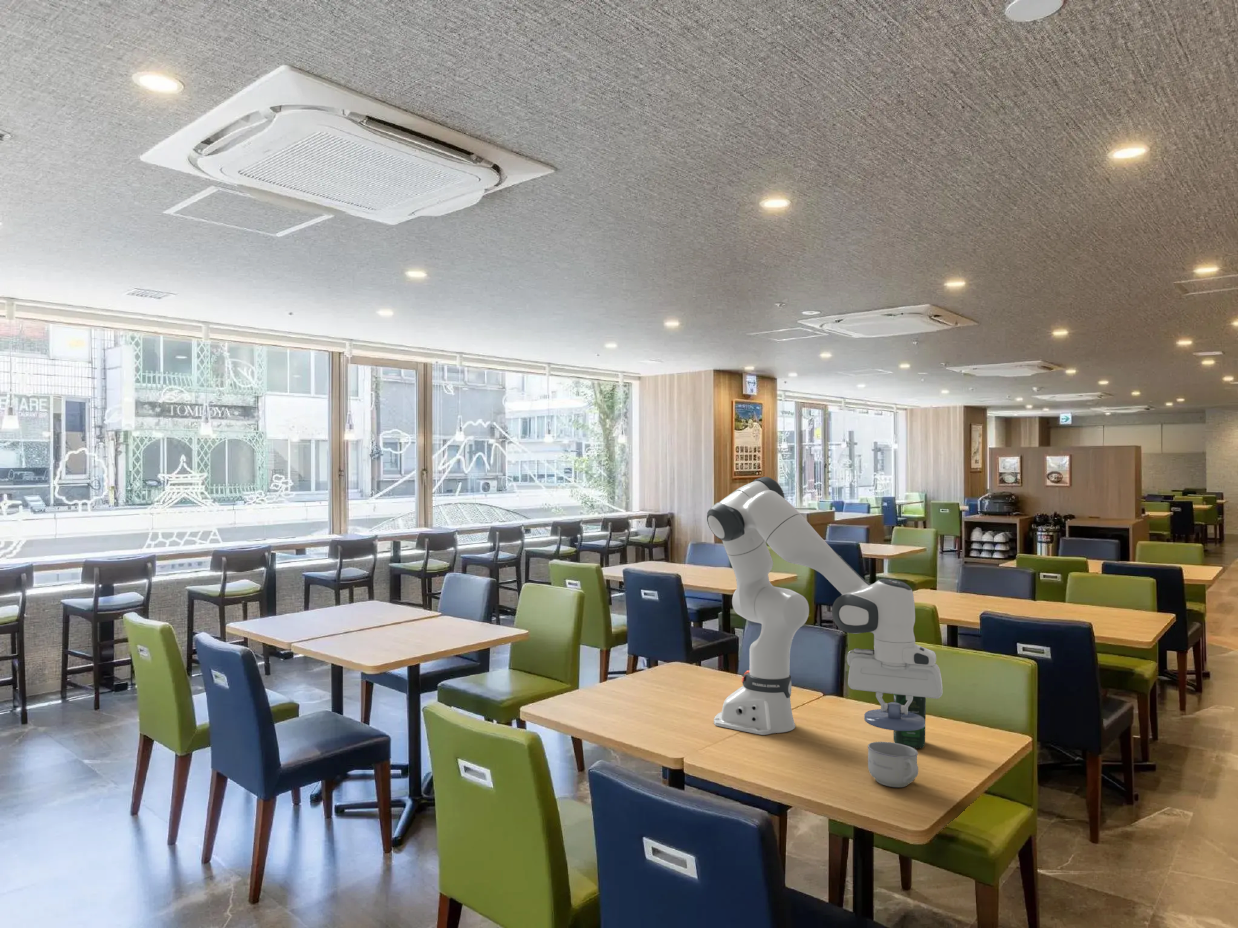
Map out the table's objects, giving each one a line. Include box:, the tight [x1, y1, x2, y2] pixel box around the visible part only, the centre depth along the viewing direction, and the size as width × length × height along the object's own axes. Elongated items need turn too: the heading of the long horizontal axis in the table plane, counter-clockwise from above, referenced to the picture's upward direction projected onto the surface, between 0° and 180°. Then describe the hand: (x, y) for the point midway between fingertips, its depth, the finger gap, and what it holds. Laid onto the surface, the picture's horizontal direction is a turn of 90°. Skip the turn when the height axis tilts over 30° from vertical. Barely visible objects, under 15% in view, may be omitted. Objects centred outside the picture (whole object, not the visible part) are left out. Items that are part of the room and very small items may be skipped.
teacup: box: [867, 741, 919, 788], centre depth 180 cm, size 14×11×8 cm
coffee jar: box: [892, 694, 927, 750], centre depth 208 cm, size 10×8×19 cm
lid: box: [863, 701, 926, 731], centre depth 180 cm, size 13×13×4 cm
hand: (894, 712), depth 180 cm, fingers closed on lid, 3 cm apart
